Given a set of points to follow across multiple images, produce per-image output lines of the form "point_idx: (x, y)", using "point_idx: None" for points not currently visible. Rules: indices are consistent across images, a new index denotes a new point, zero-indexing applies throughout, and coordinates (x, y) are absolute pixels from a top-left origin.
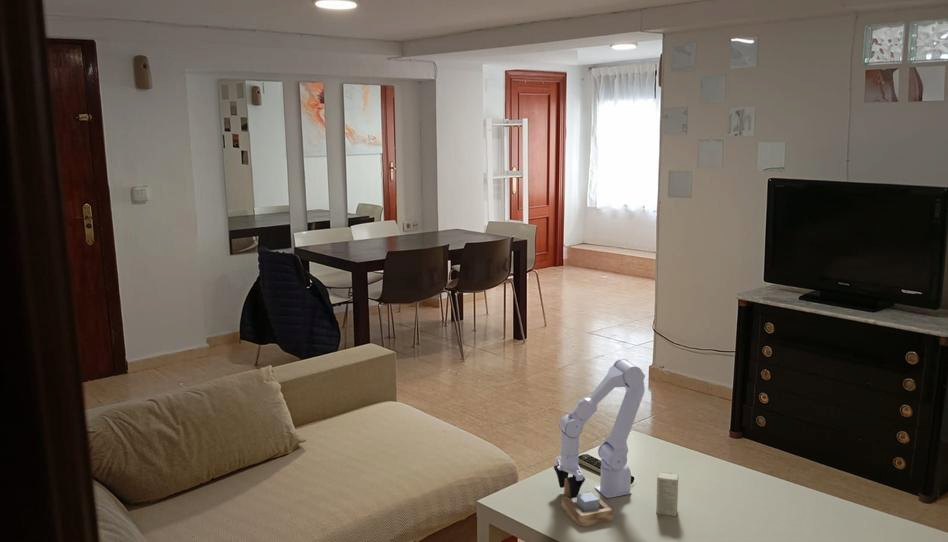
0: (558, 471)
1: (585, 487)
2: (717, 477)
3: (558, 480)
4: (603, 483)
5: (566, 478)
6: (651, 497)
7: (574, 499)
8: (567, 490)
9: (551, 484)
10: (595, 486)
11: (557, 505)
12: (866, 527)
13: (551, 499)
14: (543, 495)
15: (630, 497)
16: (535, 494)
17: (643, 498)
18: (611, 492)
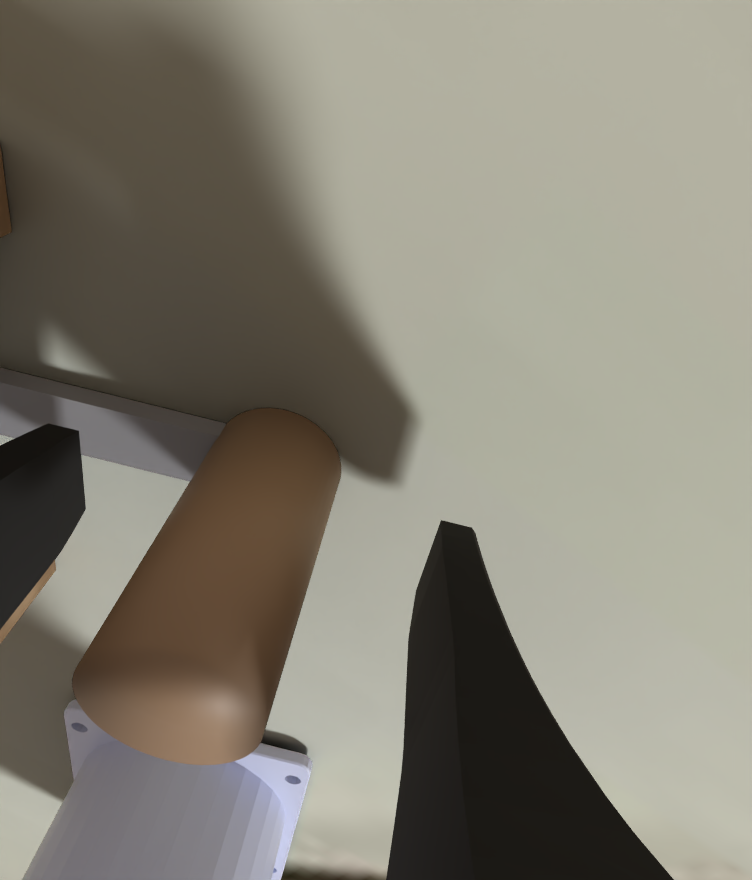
0: (453, 826)
1: (379, 717)
2: None
3: (491, 609)
4: (113, 849)
5: (242, 716)
6: (4, 847)
7: (135, 463)
8: (181, 504)
9: (745, 536)
10: (305, 772)
11: (100, 134)
12: None
13: (347, 197)
14: (570, 171)
15: (42, 791)
16: (737, 37)
17: (2, 820)
18: (79, 774)
